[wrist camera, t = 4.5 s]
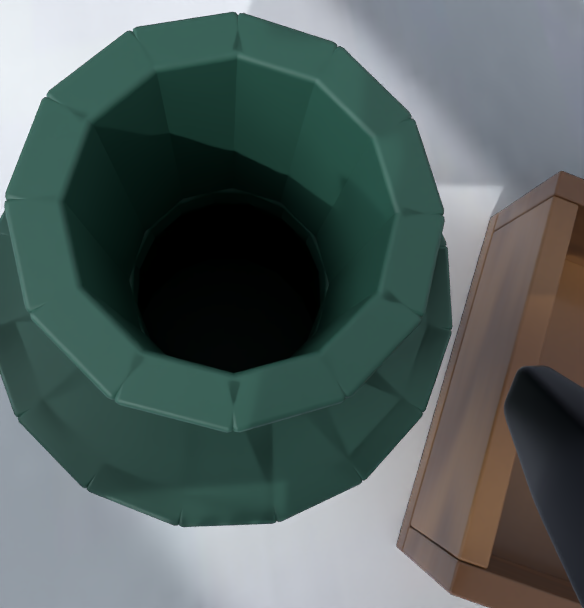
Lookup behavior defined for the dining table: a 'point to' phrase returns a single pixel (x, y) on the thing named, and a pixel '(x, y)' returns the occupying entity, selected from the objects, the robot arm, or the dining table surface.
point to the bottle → (221, 272)
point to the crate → (502, 409)
